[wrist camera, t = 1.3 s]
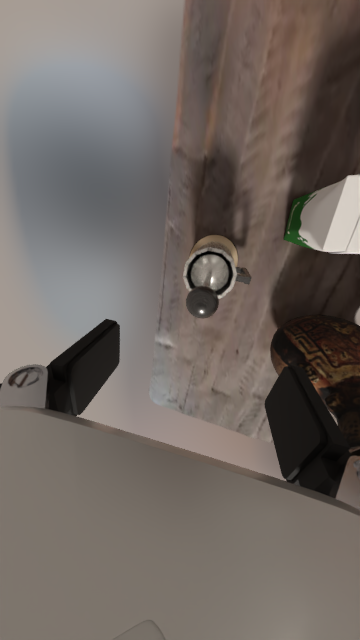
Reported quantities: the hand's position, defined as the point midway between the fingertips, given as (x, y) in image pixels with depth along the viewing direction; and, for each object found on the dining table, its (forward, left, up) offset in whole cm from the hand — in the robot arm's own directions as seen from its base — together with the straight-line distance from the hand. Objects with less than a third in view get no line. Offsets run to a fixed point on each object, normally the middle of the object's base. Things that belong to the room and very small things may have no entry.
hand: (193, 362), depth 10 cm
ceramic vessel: (+13, +27, -37) cm, 48 cm away
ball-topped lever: (0, 0, -23) cm, 23 cm away
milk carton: (-11, +16, -37) cm, 42 cm away
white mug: (0, +1, -36) cm, 37 cm away
